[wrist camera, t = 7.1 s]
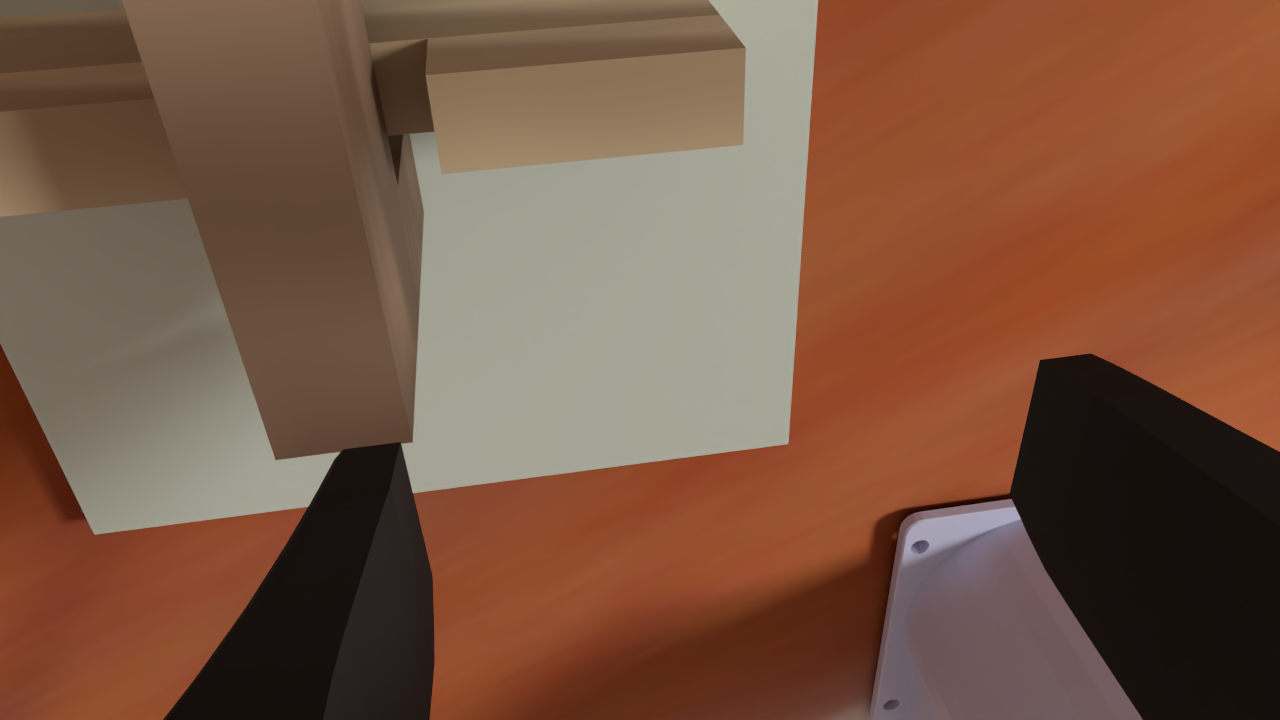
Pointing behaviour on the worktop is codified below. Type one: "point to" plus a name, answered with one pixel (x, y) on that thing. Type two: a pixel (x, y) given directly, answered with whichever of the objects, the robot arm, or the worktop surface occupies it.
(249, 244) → the wooden c-clamp shape
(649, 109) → the wooden u-shaped block
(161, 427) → the board
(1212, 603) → the robot arm
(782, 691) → the worktop surface
